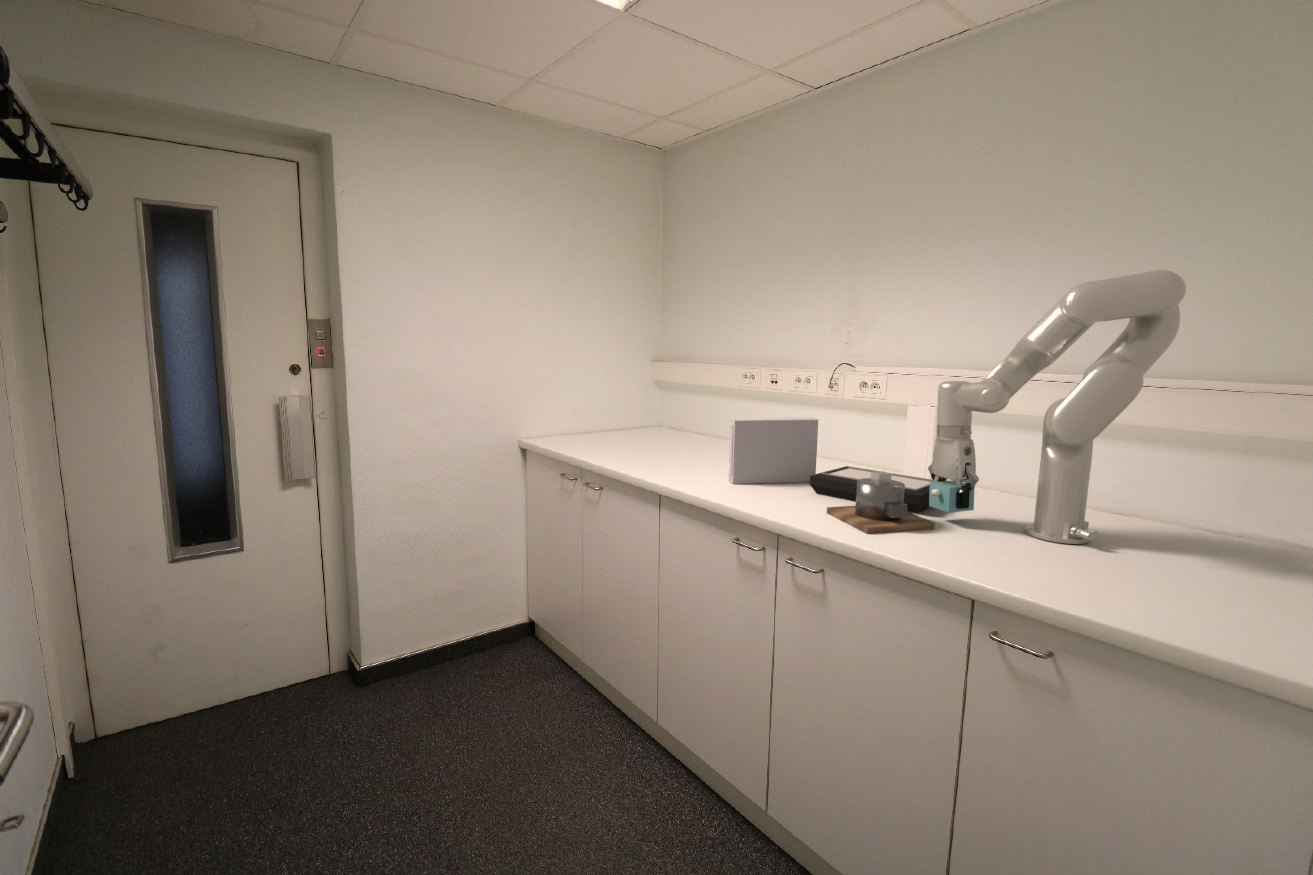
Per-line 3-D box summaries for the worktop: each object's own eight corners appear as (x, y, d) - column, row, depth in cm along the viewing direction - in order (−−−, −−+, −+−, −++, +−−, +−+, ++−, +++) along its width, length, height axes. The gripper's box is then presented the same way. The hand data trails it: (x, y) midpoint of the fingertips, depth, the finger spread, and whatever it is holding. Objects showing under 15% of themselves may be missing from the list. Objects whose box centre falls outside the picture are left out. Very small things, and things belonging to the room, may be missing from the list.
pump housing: (973, 510, 148) (974, 485, 148) (943, 513, 146) (943, 488, 146) (953, 503, 155) (953, 480, 154) (923, 506, 153) (924, 482, 152)
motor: (919, 522, 145) (922, 478, 144) (878, 525, 143) (880, 480, 141) (884, 507, 158) (887, 467, 157) (846, 510, 156) (848, 469, 154)
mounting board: (934, 528, 145) (934, 522, 145) (866, 533, 141) (867, 527, 141) (888, 509, 163) (888, 503, 162) (826, 512, 158) (826, 507, 158)
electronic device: (810, 473, 178) (844, 464, 192) (809, 494, 179) (843, 484, 193) (920, 492, 156) (950, 481, 170) (918, 516, 157) (948, 503, 170)
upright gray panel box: (727, 480, 196) (728, 418, 193) (807, 478, 200) (810, 417, 198) (732, 484, 190) (734, 420, 187) (815, 481, 195) (818, 419, 192)
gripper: (994, 435, 141) (991, 511, 143) (942, 427, 158) (939, 495, 160) (966, 437, 139) (963, 514, 142) (916, 429, 156) (914, 498, 158)
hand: (951, 503), depth 151 cm, fingers closed on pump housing, 7 cm apart
